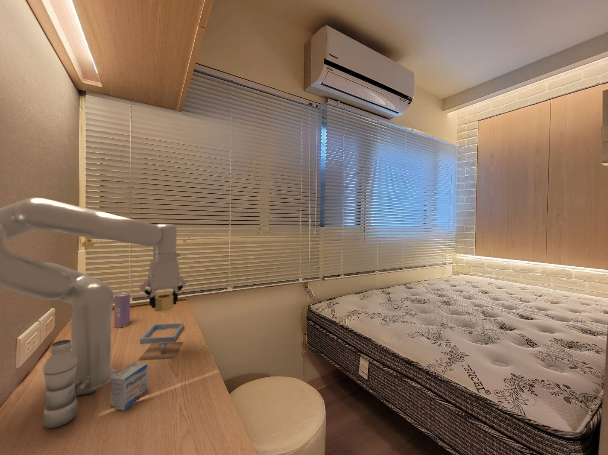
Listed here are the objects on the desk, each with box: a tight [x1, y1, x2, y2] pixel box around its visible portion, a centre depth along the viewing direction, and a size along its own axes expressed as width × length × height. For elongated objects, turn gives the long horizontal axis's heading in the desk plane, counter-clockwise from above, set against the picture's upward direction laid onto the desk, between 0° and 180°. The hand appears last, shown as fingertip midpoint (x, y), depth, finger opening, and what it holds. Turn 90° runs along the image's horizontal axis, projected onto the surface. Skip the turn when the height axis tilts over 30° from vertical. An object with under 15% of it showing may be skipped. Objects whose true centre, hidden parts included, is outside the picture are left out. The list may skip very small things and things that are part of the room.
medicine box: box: [110, 362, 148, 411], centre depth 73 cm, size 8×4×9 cm, turn 168°
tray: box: [139, 322, 185, 345], centre depth 111 cm, size 15×13×3 cm
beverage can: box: [113, 292, 131, 329], centre depth 122 cm, size 6×6×15 cm
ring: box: [152, 290, 175, 312], centre depth 98 cm, size 10×6×4 cm, turn 41°
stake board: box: [137, 341, 184, 361], centre depth 98 cm, size 13×12×5 cm
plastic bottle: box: [42, 339, 79, 429], centre depth 64 cm, size 6×7×20 cm
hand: (163, 304), depth 96 cm, fingers closed on ring, 6 cm apart
